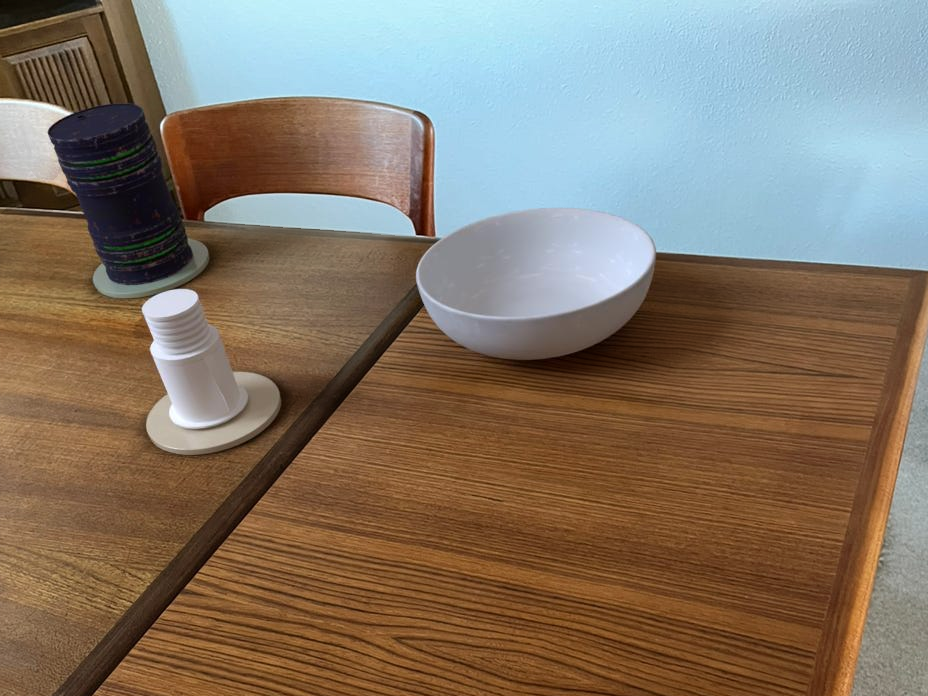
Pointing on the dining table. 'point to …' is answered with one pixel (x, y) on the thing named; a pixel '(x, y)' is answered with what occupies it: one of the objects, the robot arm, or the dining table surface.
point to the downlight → (192, 361)
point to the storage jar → (122, 192)
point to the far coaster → (136, 291)
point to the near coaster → (222, 436)
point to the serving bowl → (537, 281)
